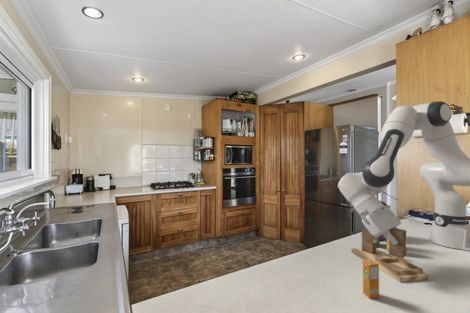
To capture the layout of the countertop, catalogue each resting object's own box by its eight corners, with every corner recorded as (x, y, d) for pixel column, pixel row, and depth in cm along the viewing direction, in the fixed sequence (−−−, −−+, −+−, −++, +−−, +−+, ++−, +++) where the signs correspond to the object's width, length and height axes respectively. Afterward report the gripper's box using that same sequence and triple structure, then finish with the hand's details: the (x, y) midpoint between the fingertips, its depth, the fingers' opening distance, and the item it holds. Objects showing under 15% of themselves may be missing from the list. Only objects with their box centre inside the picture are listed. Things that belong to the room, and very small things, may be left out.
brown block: (390, 251, 87) (390, 227, 87) (405, 255, 83) (406, 230, 83) (386, 253, 85) (386, 229, 85) (402, 258, 81) (402, 232, 81)
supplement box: (361, 292, 70) (361, 259, 70) (372, 291, 71) (372, 259, 71) (368, 299, 67) (369, 264, 67) (379, 298, 67) (380, 264, 67)
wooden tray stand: (374, 250, 102) (374, 226, 102) (428, 279, 78) (428, 248, 78) (351, 252, 100) (351, 227, 100) (399, 282, 76) (400, 250, 76)
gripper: (365, 208, 83) (396, 244, 75) (386, 201, 95) (415, 231, 88) (352, 218, 86) (381, 253, 78) (374, 210, 99) (401, 240, 91)
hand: (399, 242), depth 83 cm, fingers closed on brown block, 4 cm apart
